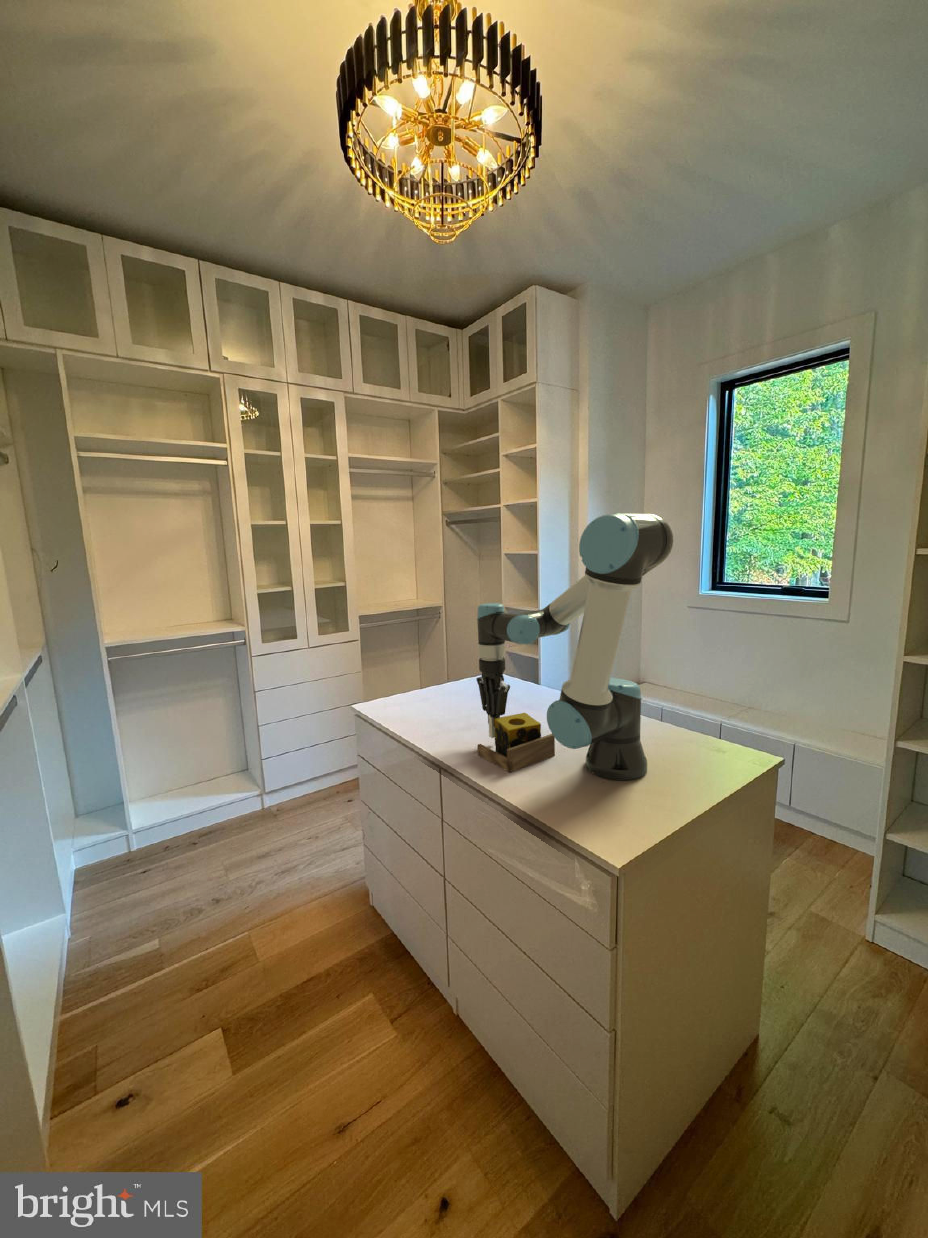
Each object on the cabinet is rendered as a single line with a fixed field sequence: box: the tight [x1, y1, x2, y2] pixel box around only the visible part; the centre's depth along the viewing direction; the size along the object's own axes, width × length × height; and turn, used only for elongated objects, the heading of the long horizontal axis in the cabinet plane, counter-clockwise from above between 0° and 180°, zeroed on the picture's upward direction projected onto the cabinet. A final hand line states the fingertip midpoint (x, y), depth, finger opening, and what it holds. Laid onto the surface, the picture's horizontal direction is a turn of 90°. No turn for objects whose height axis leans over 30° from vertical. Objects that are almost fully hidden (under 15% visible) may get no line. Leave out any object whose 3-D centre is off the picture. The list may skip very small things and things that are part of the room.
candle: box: [494, 712, 542, 757], centre depth 137 cm, size 10×10×10 cm
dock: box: [477, 733, 556, 773], centre depth 137 cm, size 14×16×6 cm
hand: (494, 736), depth 145 cm, fingers closed
